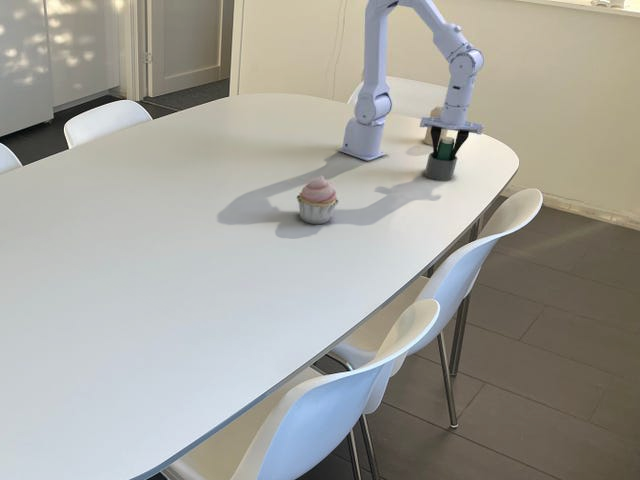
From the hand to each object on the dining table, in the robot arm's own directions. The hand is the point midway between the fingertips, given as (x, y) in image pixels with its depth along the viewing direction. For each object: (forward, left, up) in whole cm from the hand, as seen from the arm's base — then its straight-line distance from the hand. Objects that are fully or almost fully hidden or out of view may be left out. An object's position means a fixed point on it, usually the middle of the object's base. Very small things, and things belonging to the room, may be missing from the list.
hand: (442, 158), depth 184 cm
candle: (-15, +21, -5) cm, 26 cm away
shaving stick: (0, 0, -3) cm, 3 cm away
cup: (0, 0, -4) cm, 4 cm away
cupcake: (-2, -46, -5) cm, 46 cm away
